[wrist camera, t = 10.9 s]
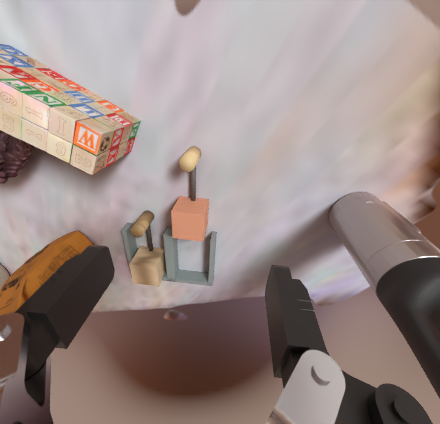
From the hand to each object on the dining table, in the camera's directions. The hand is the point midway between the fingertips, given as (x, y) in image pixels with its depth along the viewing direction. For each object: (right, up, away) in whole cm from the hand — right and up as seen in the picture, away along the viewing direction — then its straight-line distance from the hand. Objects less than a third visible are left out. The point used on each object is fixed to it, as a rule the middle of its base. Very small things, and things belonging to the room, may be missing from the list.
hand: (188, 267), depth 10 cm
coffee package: (-34, -6, +42) cm, 55 cm away
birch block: (-14, -4, +39) cm, 42 cm away
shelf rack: (-10, -7, +40) cm, 42 cm away
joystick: (-4, +7, +31) cm, 32 cm away
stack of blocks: (-22, +21, +25) cm, 40 cm away
